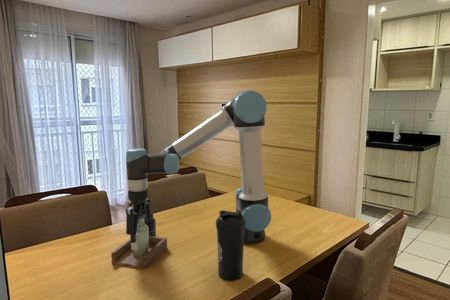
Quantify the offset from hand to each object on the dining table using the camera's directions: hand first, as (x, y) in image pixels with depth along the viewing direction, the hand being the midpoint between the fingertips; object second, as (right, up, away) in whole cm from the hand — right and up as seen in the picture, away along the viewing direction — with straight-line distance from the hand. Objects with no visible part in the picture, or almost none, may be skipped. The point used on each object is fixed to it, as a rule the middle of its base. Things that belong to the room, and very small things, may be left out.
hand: (140, 244), depth 118 cm
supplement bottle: (-1, -2, +16) cm, 16 cm away
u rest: (0, -5, +1) cm, 5 cm away
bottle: (0, -3, +1) cm, 3 cm away
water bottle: (+35, -7, -12) cm, 38 cm away
